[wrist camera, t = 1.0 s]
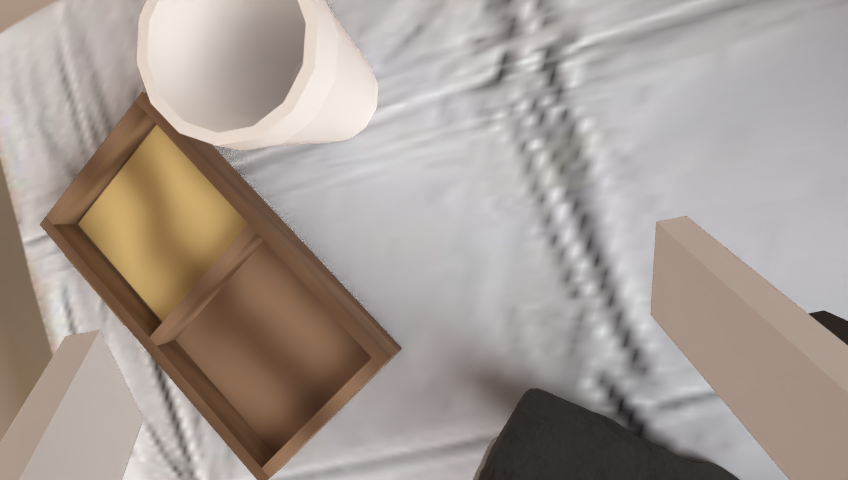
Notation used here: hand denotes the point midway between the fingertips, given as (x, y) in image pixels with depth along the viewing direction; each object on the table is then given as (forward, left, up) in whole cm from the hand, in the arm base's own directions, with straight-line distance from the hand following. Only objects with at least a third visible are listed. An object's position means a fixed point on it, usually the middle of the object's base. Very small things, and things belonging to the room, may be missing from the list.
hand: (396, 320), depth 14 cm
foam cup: (+1, -16, -24) cm, 29 cm away
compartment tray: (+16, -13, -24) cm, 32 cm away
